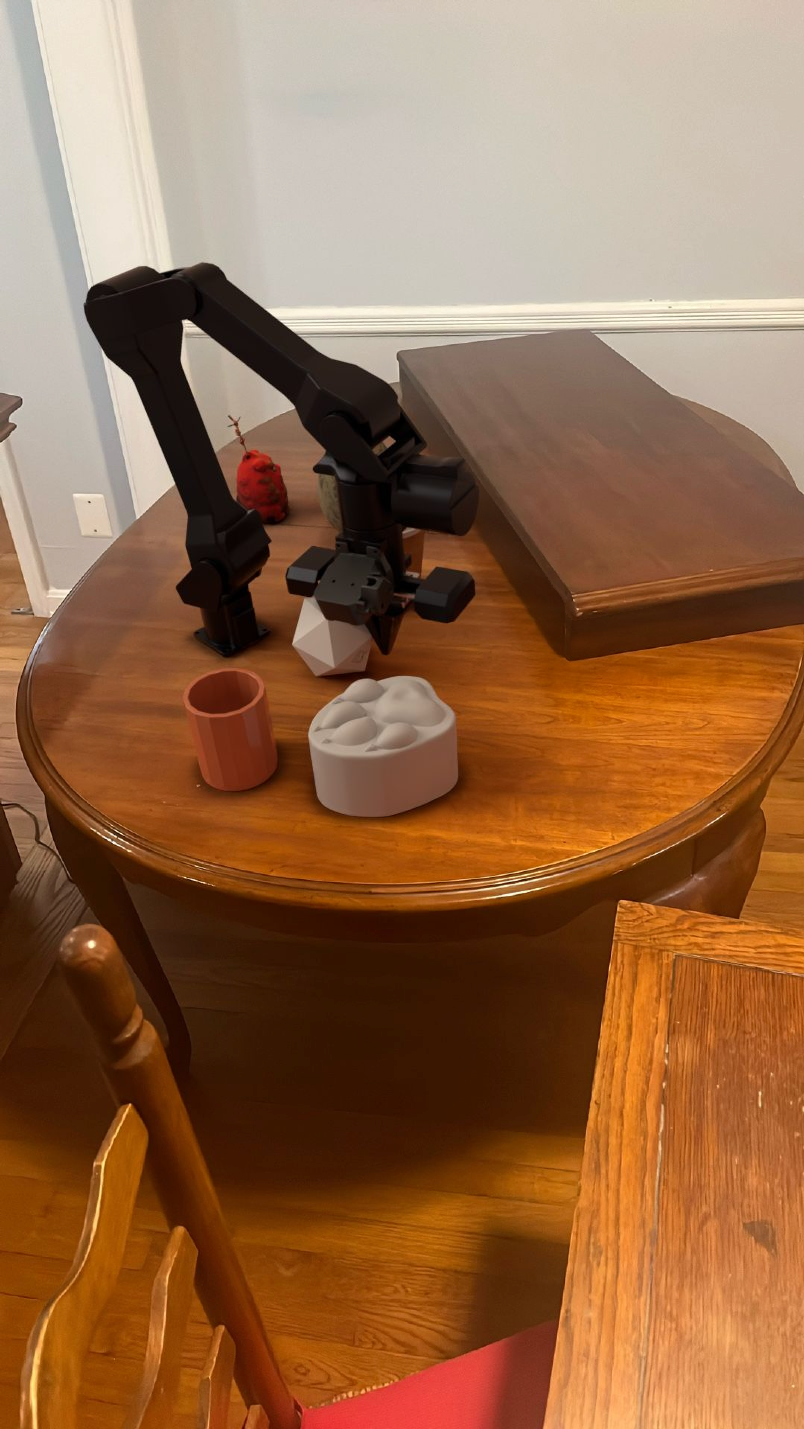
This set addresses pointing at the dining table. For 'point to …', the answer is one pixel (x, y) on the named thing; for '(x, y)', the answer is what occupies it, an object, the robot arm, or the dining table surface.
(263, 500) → the red bumpy tall lump
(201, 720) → the terracotta cup
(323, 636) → the die
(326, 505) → the decorative egg
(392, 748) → the lumpy-topped squat cylinder
